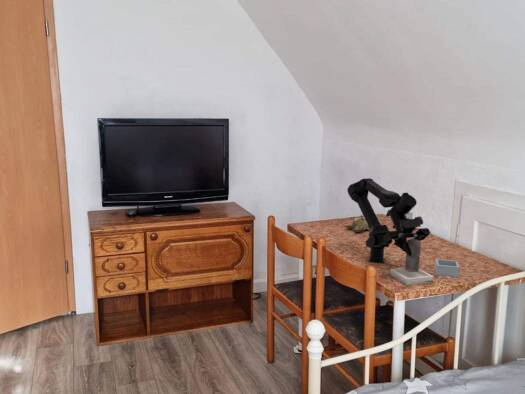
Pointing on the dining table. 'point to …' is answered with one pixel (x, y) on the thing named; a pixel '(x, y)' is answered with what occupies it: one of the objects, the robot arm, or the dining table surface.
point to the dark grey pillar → (413, 255)
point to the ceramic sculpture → (358, 224)
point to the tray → (411, 276)
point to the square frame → (447, 268)
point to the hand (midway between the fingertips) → (415, 255)
